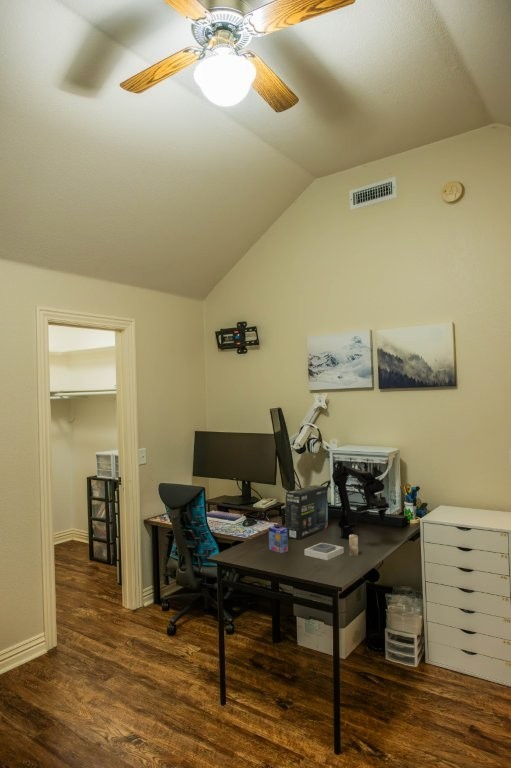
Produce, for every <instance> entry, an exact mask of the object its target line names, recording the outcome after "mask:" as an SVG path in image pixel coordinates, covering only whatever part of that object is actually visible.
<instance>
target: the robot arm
mask: <svg viewBox="0 0 511 768" xmlns="http://www.w3.org/2000/svg"><path fill="white" fill-rule="evenodd" d="M349 476H352V477H353V478H356V479H357V481H358V482H360V483H361V485H360V487H359V488H360V489H363V494H364V497H363V500H364V501H365V503H366V504H365V505H359V506H356V508H355V511H356V512H355V511H353V510H352V508H351V503H350V499H349V496H348V491H347V486H346V485H347V482H348V477H349ZM331 478H332V480H333V483H334V484H335V486H336V487H337V490H338V491H337V492H338V495H339V500H340V505H341V510H342V511H341V514H340V521H339V522H338V523H337V524H338V527H339V528H340V530H341V531H340V536H339V538H341V539H344V540H349V535H355V533H354V528H356V525H357V518H358V517H357V515H356V513H358V514H359V515H360V516H361V517H363V519H364V520H365V522H366V523H367V524H368V526H371V520H370V515H369V513H370V510H377V513H378V515H379V518H380V521H381V523H382V524H384V523H385V518H386V512H387V511H388V509H389V508H390V504H389V503H388V502H387V497H386V496H381V497H380V498H379V496H378V495H377V493H380V492H383V491H384V489H385V485H384V483H383V481H381V479H380V478H376V477H375V476H374V475H373V473H372V472H371V471H366V470H363V471H362V470H359V469H357V468H355V467H353V466H351V465H349V464H348V465H346V464H345V465H342V466H340V467H338V469H336V470H334V471H333V473H332V474H331Z"/></svg>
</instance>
